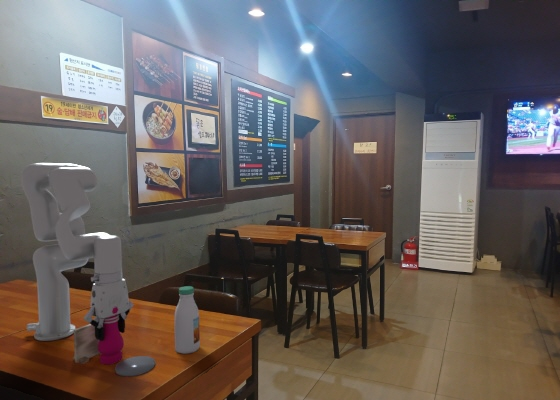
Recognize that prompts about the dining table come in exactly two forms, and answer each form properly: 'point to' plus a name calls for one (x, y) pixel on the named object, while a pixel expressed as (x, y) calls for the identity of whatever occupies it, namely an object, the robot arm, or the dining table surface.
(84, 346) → the screen
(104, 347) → the pepper mill
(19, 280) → the dining table surface
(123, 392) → the dining table surface
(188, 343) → the milk bottle
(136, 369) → the coaster
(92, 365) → the dining table surface
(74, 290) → the dining table surface
